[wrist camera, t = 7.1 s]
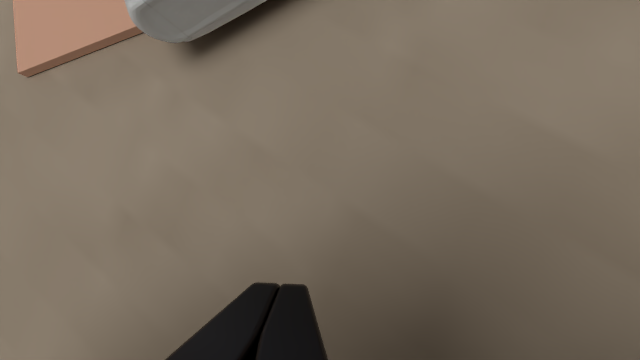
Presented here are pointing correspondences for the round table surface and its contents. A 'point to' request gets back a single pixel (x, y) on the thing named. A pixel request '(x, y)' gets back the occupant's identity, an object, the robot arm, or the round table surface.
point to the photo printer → (184, 16)
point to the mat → (66, 30)
